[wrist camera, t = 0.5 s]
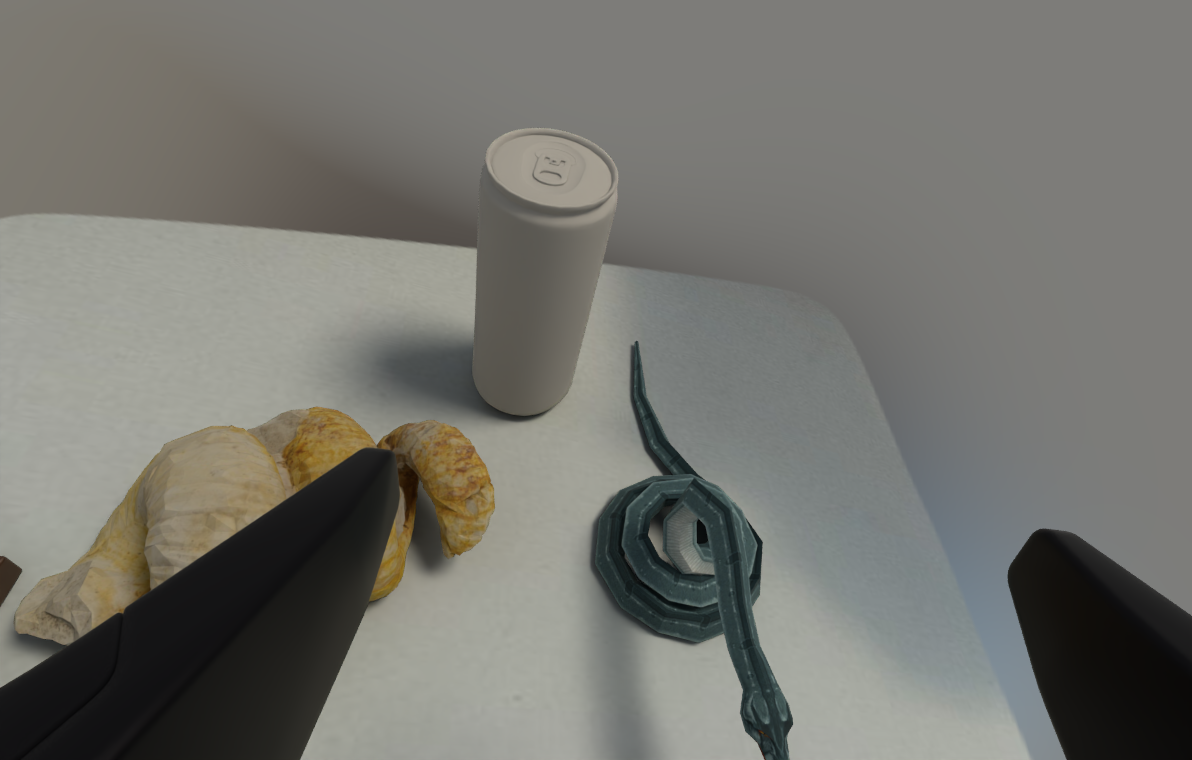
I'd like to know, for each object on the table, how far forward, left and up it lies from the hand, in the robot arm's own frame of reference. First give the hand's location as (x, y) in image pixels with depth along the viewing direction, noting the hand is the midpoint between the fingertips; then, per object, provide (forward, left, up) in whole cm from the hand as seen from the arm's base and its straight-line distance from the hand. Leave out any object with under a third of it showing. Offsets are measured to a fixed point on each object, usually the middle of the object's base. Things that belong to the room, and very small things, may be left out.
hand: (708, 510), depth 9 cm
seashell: (+5, +10, -17) cm, 20 cm away
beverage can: (+15, +3, -17) cm, 22 cm away
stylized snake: (+8, -4, -17) cm, 19 cm away
